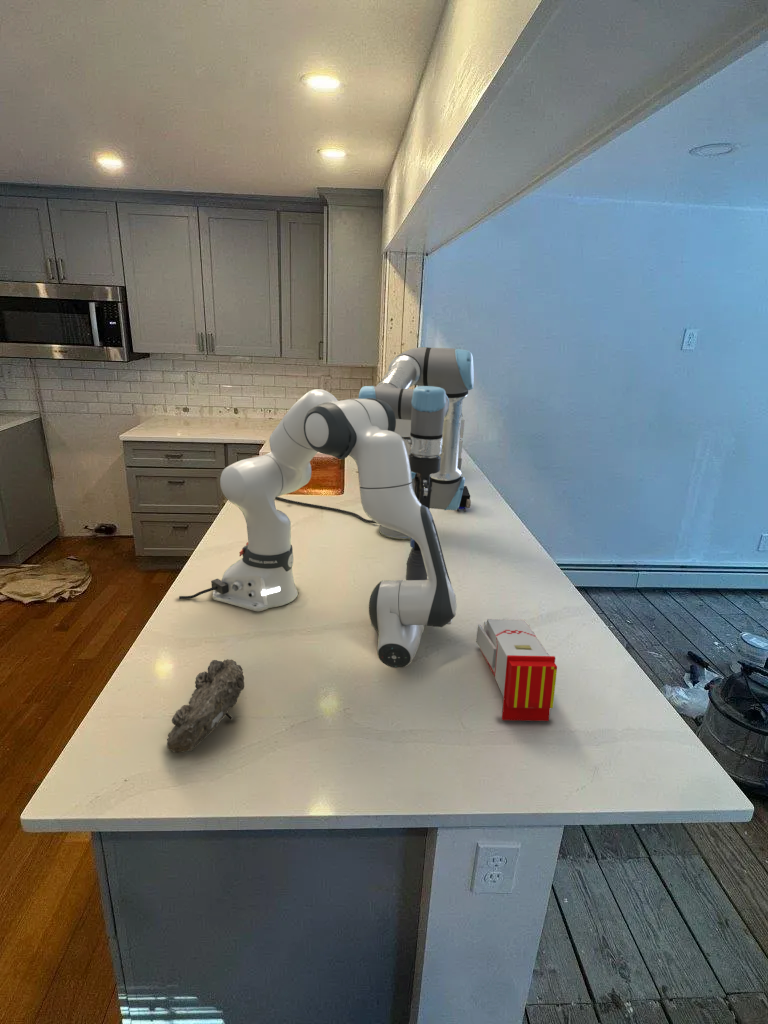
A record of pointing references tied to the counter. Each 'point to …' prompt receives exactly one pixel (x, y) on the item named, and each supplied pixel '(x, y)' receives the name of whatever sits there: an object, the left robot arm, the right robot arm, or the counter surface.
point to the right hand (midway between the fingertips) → (418, 545)
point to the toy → (519, 668)
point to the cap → (412, 542)
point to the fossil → (206, 705)
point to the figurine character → (465, 499)
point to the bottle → (415, 566)
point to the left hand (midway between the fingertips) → (415, 592)
